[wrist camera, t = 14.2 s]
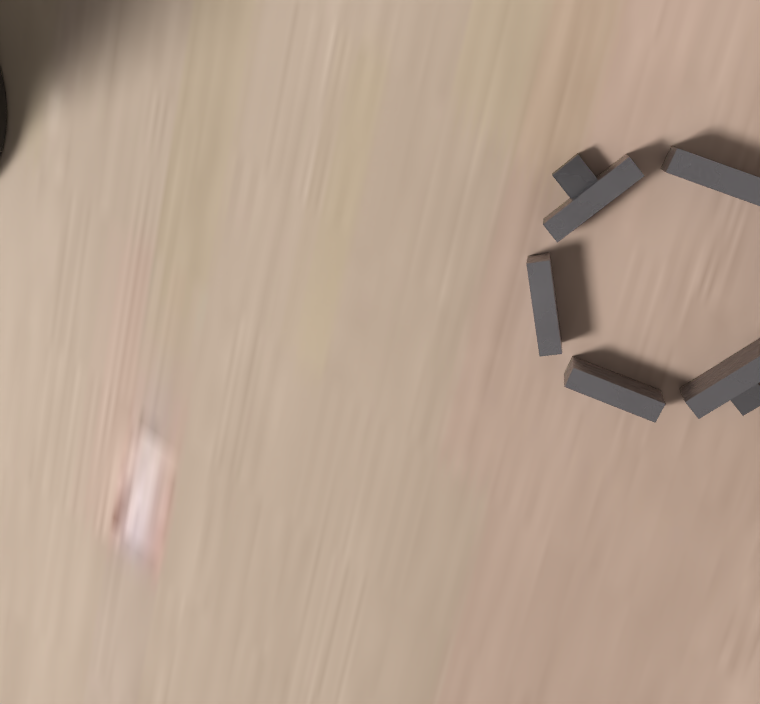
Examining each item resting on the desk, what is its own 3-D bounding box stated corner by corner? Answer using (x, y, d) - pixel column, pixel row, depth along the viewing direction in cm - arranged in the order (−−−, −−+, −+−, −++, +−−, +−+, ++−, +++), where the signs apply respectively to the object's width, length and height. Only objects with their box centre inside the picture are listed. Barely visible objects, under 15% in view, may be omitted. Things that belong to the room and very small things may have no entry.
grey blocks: (460, 248, 41) (456, 254, 39) (684, 66, 36) (691, 64, 34) (640, 467, 43) (643, 483, 41) (879, 325, 37) (896, 336, 35)
